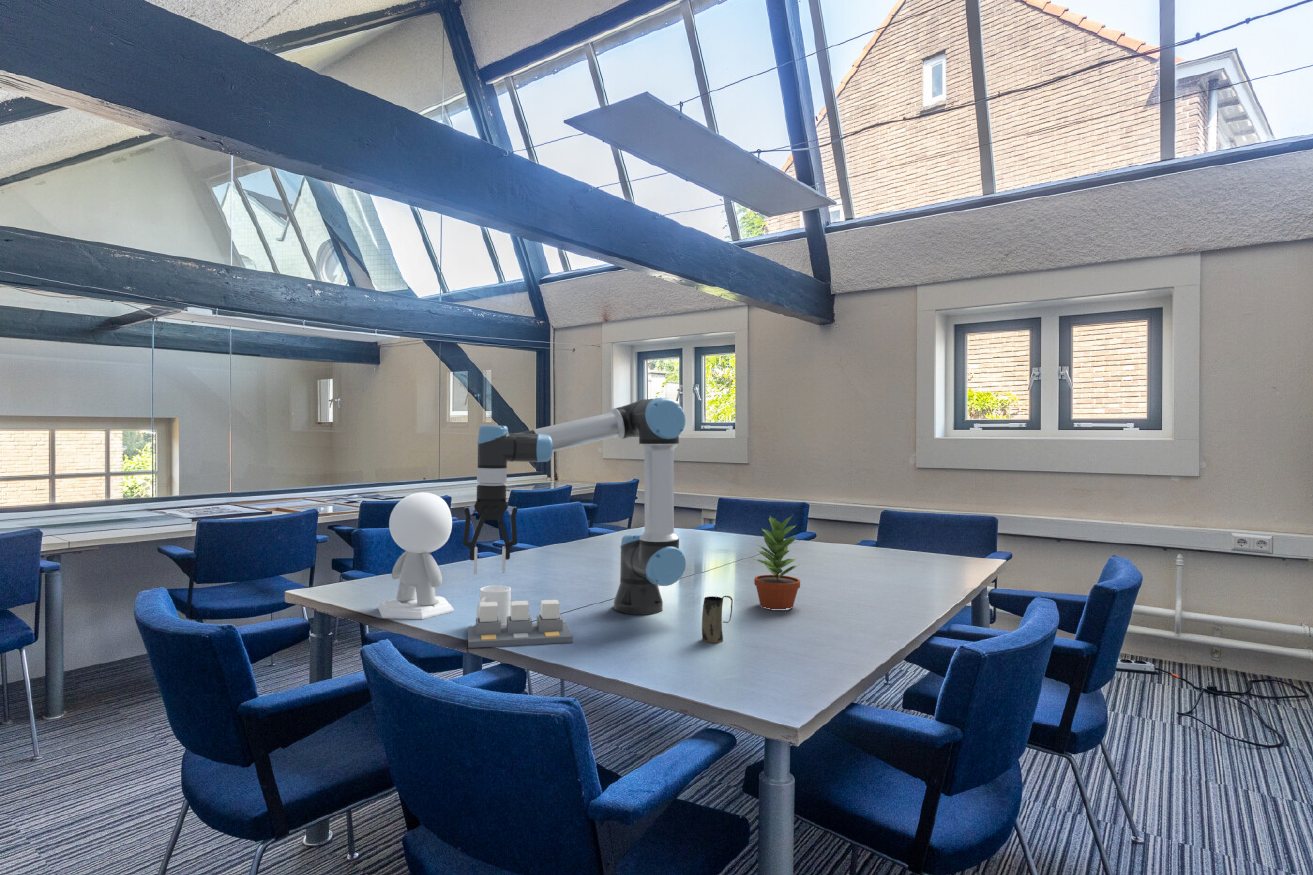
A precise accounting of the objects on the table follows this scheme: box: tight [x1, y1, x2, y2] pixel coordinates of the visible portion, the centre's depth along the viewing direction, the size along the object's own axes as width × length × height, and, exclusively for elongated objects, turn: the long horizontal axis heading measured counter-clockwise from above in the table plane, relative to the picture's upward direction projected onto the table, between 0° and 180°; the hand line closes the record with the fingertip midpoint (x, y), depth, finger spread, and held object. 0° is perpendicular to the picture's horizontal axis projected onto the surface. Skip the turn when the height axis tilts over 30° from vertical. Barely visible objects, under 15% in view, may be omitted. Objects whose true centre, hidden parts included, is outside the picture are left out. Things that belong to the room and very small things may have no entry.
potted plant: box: [753, 514, 801, 609], centre depth 221 cm, size 15×15×30 cm
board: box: [467, 613, 574, 649], centre depth 181 cm, size 26×14×4 cm, turn 105°
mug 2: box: [701, 595, 734, 644], centre depth 183 cm, size 8×6×12 cm
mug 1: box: [476, 585, 512, 625], centre depth 190 cm, size 12×8×10 cm
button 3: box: [479, 602, 498, 622], centre depth 181 cm, size 4×4×4 cm
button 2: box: [510, 600, 530, 621], centre depth 183 cm, size 4×4×4 cm
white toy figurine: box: [377, 491, 455, 620], centre depth 206 cm, size 20×23×35 cm
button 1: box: [540, 599, 560, 619], centre depth 185 cm, size 4×4×4 cm
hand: (489, 572), depth 181 cm, fingers open, 6 cm apart
